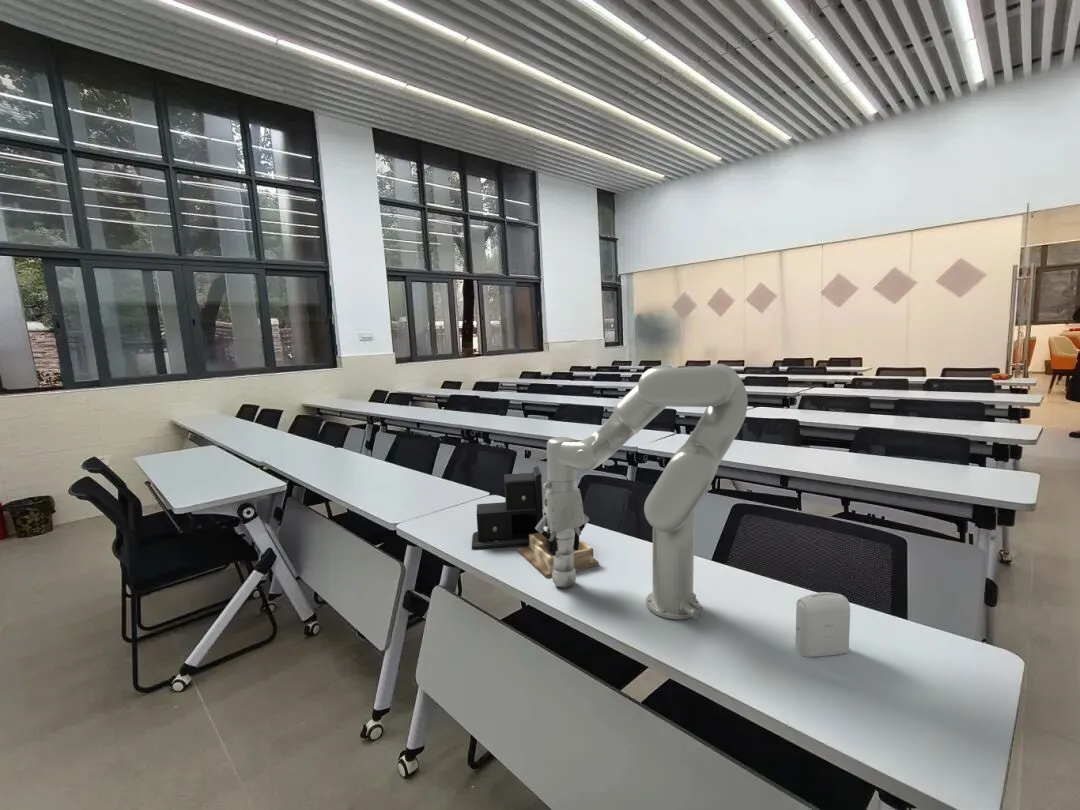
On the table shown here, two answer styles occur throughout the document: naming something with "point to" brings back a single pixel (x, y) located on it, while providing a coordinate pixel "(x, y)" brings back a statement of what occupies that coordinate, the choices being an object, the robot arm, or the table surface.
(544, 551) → the keyhole plate
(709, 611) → the table surface
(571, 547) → the plastic bottle
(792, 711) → the table surface
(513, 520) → the black drawer cabinet
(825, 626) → the photo printer
